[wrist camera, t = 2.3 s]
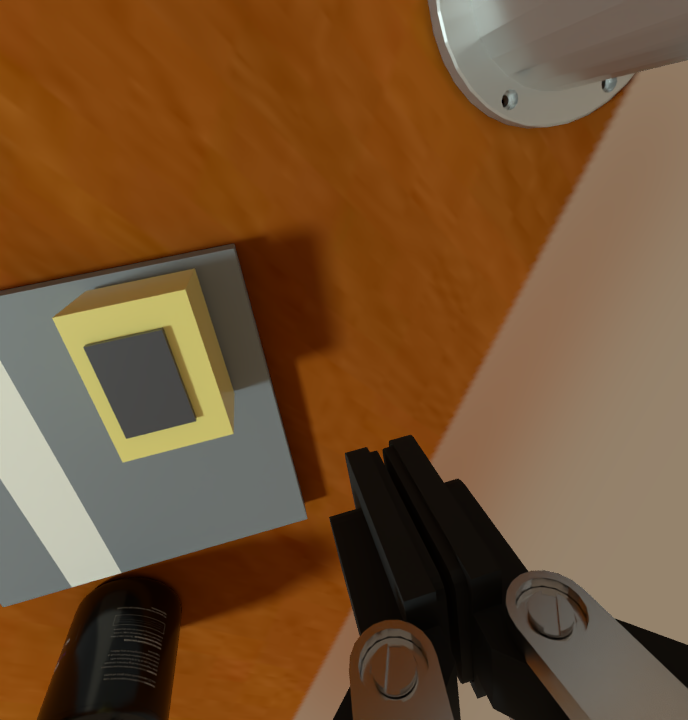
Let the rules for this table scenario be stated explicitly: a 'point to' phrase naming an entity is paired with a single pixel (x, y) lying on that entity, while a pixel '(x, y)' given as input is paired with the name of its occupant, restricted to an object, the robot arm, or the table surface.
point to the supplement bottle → (118, 655)
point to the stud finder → (150, 363)
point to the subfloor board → (101, 460)
